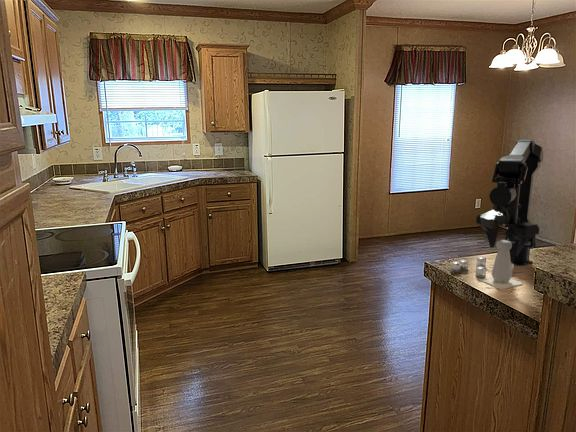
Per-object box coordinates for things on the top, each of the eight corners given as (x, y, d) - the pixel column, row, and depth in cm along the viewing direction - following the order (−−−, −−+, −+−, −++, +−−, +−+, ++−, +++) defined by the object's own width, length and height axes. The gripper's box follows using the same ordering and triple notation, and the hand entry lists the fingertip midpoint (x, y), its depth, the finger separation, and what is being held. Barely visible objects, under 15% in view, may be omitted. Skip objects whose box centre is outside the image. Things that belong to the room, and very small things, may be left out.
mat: (502, 276, 146) (502, 275, 146) (522, 284, 139) (523, 283, 139) (480, 280, 143) (480, 279, 143) (500, 289, 135) (500, 288, 135)
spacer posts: (488, 263, 159) (489, 254, 158) (515, 273, 149) (516, 264, 148) (447, 270, 153) (448, 261, 152) (472, 281, 142) (473, 272, 142)
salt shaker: (506, 277, 143) (509, 238, 141) (515, 284, 138) (518, 243, 135) (487, 278, 143) (490, 238, 141) (495, 284, 138) (499, 243, 135)
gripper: (464, 198, 141) (461, 246, 144) (513, 209, 124) (508, 263, 127) (491, 195, 145) (488, 242, 148) (543, 205, 128) (537, 258, 131)
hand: (503, 251), depth 138 cm, fingers open, 9 cm apart
